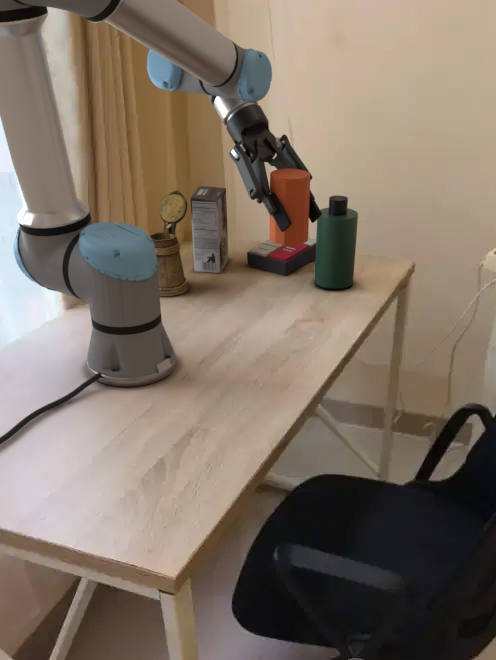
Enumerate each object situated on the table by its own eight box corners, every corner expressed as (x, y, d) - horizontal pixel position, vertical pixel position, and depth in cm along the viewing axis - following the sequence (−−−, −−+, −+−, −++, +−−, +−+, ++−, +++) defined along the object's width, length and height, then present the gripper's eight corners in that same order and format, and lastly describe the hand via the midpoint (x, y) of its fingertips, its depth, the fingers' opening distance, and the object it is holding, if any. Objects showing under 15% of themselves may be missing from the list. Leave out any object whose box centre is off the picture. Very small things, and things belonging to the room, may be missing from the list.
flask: (328, 294, 158) (333, 206, 147) (306, 280, 164) (309, 195, 153) (361, 286, 162) (368, 200, 151) (338, 273, 168) (343, 190, 157)
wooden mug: (202, 276, 166) (197, 191, 155) (177, 299, 155) (170, 210, 144) (165, 271, 168) (158, 187, 157) (138, 293, 157) (128, 205, 146)
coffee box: (202, 257, 175) (198, 185, 165) (229, 259, 174) (227, 186, 164) (193, 271, 168) (188, 197, 158) (221, 273, 167) (218, 198, 157)
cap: (282, 247, 141) (283, 180, 134) (262, 236, 146) (262, 171, 139) (315, 241, 144) (317, 175, 137) (294, 230, 149) (296, 166, 142)
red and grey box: (245, 249, 169) (283, 229, 178) (246, 267, 172) (283, 246, 181) (286, 259, 164) (322, 238, 173) (286, 278, 167) (321, 256, 176)
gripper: (270, 122, 149) (326, 222, 150) (191, 136, 137) (253, 246, 138) (290, 95, 143) (349, 201, 144) (209, 108, 131) (274, 223, 132)
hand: (302, 223), depth 141 cm, fingers closed on cap, 8 cm apart
